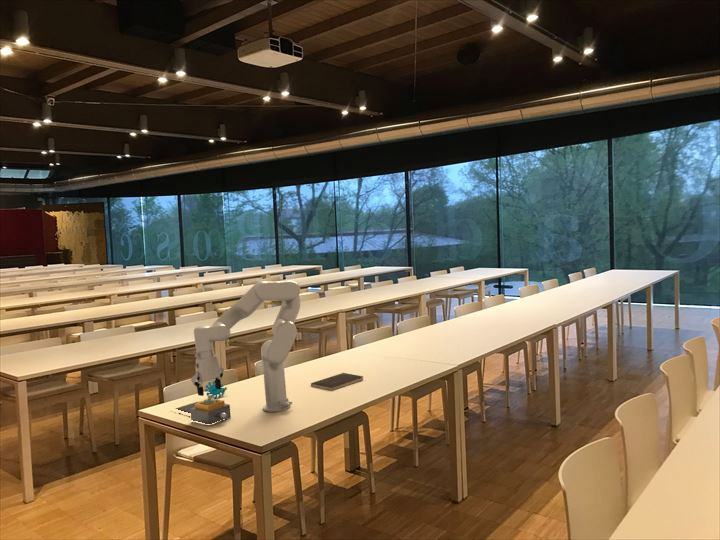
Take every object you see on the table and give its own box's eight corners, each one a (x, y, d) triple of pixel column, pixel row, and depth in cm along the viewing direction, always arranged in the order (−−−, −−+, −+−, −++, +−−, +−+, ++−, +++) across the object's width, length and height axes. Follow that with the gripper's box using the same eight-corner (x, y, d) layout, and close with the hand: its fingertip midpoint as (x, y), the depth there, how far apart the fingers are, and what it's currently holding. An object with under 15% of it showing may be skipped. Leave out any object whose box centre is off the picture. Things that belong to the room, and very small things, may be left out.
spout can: (219, 419, 255) (217, 394, 255) (210, 422, 251) (208, 397, 251) (212, 417, 258) (209, 393, 258) (203, 420, 254) (200, 396, 254)
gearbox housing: (236, 418, 254) (235, 401, 253) (215, 427, 244) (213, 409, 244) (213, 414, 263) (211, 396, 263) (191, 422, 254) (189, 404, 253)
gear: (206, 397, 285) (204, 380, 291) (204, 404, 289) (202, 387, 295) (228, 396, 289) (226, 379, 296) (226, 402, 293) (224, 386, 300)
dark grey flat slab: (220, 406, 269) (191, 416, 259) (220, 410, 270) (191, 420, 259) (198, 400, 283) (169, 408, 273) (198, 403, 283) (169, 412, 273)
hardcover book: (363, 380, 304) (363, 376, 304) (331, 391, 288) (331, 387, 288) (343, 376, 315) (342, 372, 315) (311, 387, 299) (310, 382, 299)
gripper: (194, 359, 244) (199, 398, 245) (226, 350, 257) (230, 387, 259) (183, 358, 248) (188, 397, 249) (215, 349, 262) (219, 385, 263)
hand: (209, 392), depth 254 cm, fingers open, 9 cm apart
